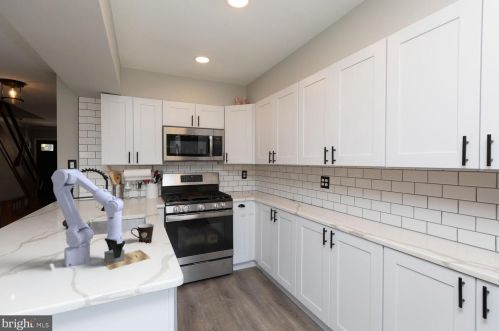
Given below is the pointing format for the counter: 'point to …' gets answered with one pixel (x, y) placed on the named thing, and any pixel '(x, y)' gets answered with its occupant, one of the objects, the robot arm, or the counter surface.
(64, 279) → the counter surface
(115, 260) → the sanding block
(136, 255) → the oak board
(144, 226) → the coffee mug
